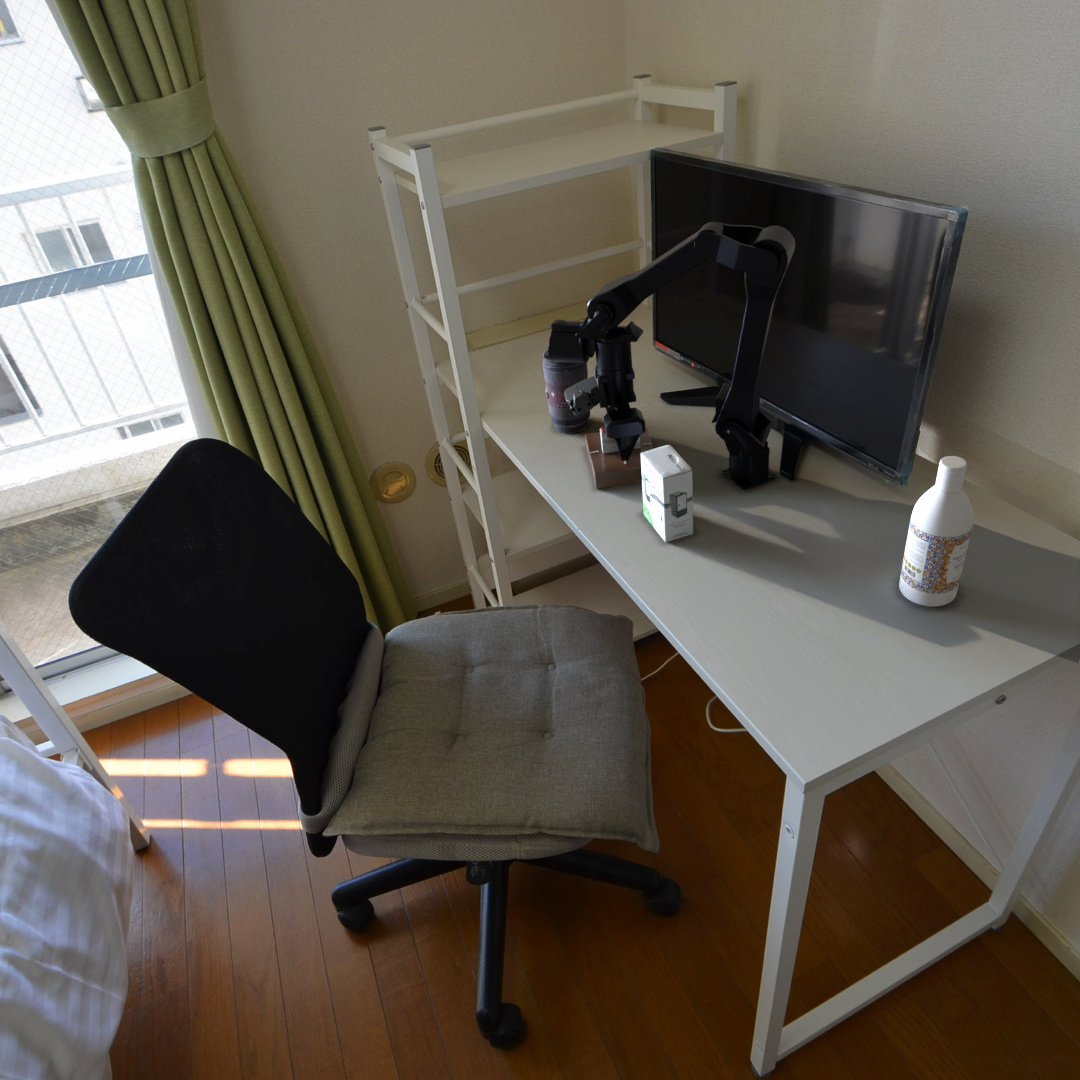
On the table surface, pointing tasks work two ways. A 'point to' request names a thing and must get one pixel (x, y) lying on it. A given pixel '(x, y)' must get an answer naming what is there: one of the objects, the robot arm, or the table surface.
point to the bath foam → (938, 538)
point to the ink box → (667, 492)
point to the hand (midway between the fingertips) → (620, 446)
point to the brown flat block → (615, 462)
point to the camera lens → (556, 384)
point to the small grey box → (611, 443)
